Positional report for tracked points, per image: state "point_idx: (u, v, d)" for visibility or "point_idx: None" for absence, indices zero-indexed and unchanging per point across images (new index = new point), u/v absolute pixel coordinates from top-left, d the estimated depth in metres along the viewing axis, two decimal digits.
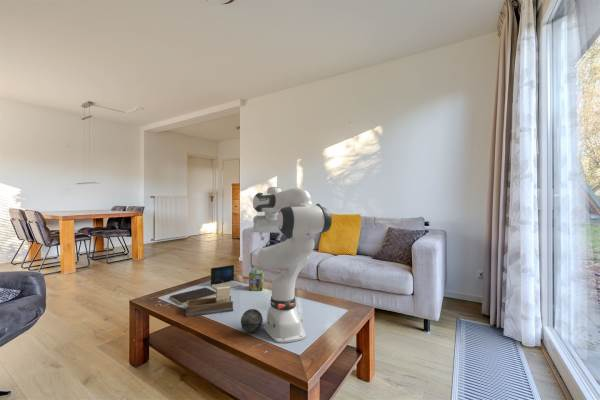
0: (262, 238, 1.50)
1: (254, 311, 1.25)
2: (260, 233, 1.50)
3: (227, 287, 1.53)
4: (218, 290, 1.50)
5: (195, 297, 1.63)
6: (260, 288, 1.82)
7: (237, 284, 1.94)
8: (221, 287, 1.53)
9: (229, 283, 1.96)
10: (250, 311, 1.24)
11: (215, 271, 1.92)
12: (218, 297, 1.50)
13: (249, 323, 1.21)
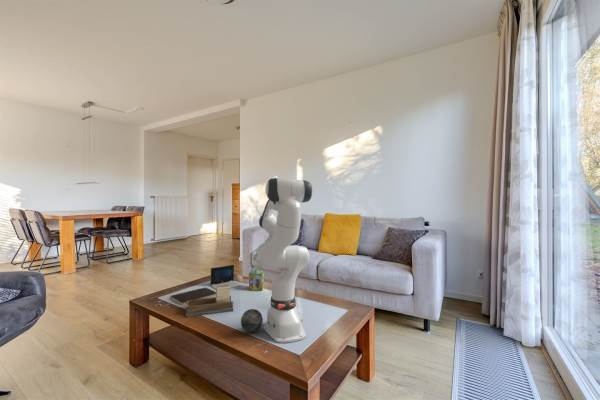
0: (253, 257, 1.65)
1: (254, 311, 1.25)
2: (256, 253, 1.67)
3: (227, 287, 1.53)
4: (218, 290, 1.50)
5: (195, 297, 1.63)
6: (260, 288, 1.82)
7: (237, 284, 1.94)
8: (221, 287, 1.53)
9: (229, 283, 1.96)
10: (250, 311, 1.24)
11: (215, 271, 1.92)
12: (218, 297, 1.50)
13: (249, 323, 1.21)
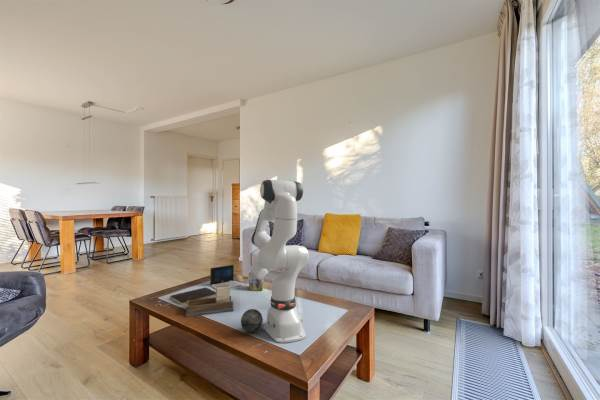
0: (248, 277, 1.60)
1: (254, 311, 1.25)
2: None
3: (227, 287, 1.53)
4: (218, 290, 1.50)
5: (195, 297, 1.63)
6: (260, 288, 1.82)
7: (237, 284, 1.94)
8: (221, 287, 1.53)
9: (229, 283, 1.96)
10: (250, 311, 1.24)
11: (215, 271, 1.93)
12: (218, 297, 1.50)
13: (249, 323, 1.21)
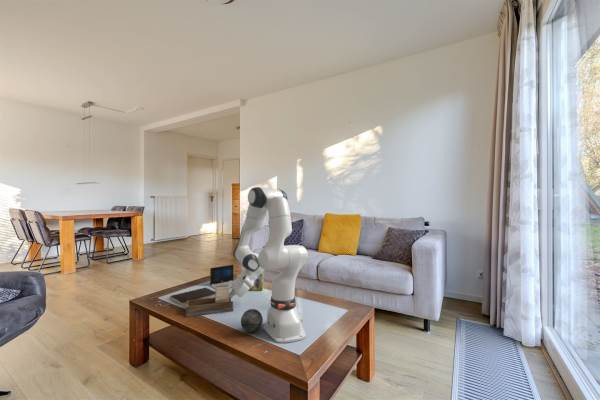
0: (229, 293, 1.56)
1: (254, 311, 1.25)
2: None
3: (226, 287, 1.53)
4: (217, 290, 1.49)
5: (195, 297, 1.63)
6: (260, 288, 1.82)
7: None
8: (220, 287, 1.53)
9: (228, 283, 1.96)
10: (250, 311, 1.24)
11: (215, 270, 1.93)
12: (217, 297, 1.49)
13: (249, 323, 1.21)
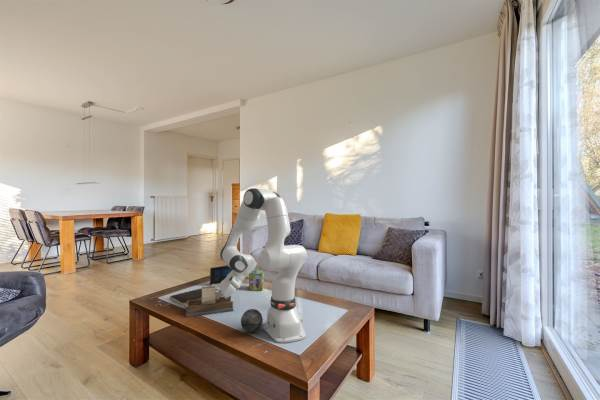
0: (216, 294, 1.53)
1: (254, 311, 1.25)
2: (219, 290, 1.55)
3: (213, 288, 1.50)
4: (203, 291, 1.47)
5: (195, 297, 1.63)
6: (260, 288, 1.82)
7: None
8: (207, 288, 1.50)
9: None
10: (250, 311, 1.24)
11: (215, 270, 1.93)
12: (203, 299, 1.47)
13: (249, 323, 1.21)
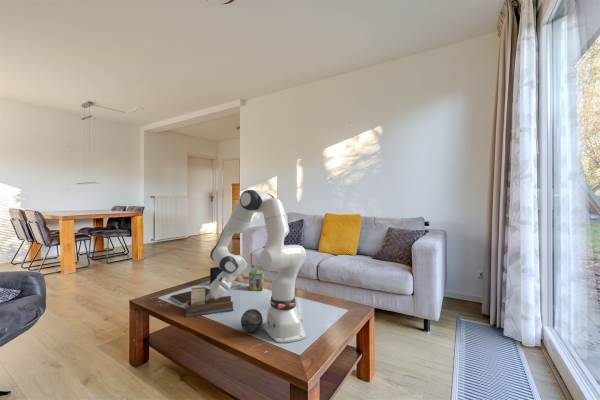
0: (206, 295, 1.51)
1: (254, 311, 1.25)
2: (209, 291, 1.53)
3: (202, 289, 1.48)
4: (192, 292, 1.45)
5: None
6: (260, 288, 1.82)
7: (236, 284, 1.95)
8: (196, 289, 1.48)
9: None
10: (250, 311, 1.24)
11: (215, 270, 1.93)
12: (192, 300, 1.45)
13: (249, 323, 1.21)
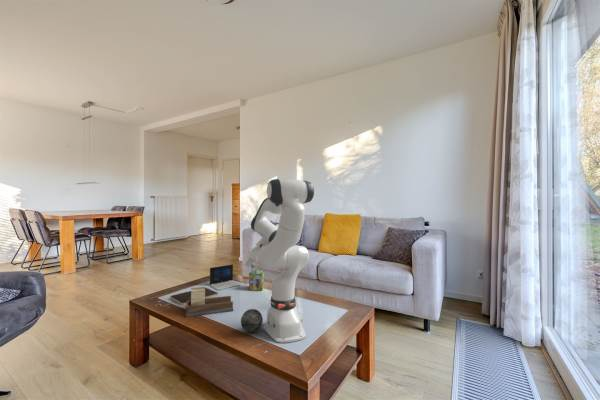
0: (246, 262, 1.56)
1: (254, 311, 1.25)
2: (249, 258, 1.58)
3: (202, 289, 1.48)
4: (192, 292, 1.45)
5: None
6: (260, 288, 1.82)
7: (236, 283, 1.95)
8: (196, 289, 1.48)
9: (228, 282, 1.97)
10: (250, 311, 1.24)
11: (214, 270, 1.93)
12: (192, 300, 1.45)
13: (249, 323, 1.21)
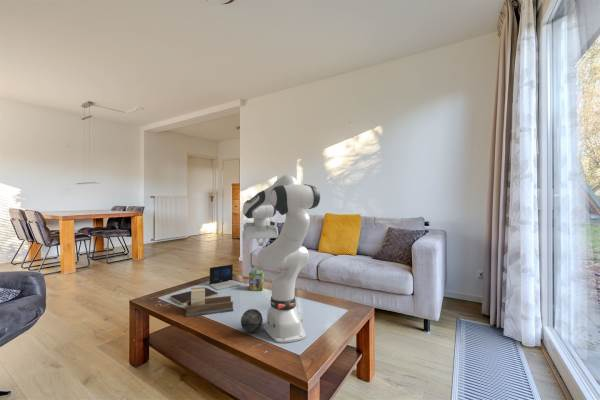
0: (259, 244, 1.58)
1: (254, 311, 1.25)
2: (257, 239, 1.58)
3: (202, 289, 1.48)
4: (192, 292, 1.45)
5: None
6: (260, 288, 1.82)
7: (236, 283, 1.95)
8: (196, 289, 1.48)
9: (228, 282, 1.97)
10: (250, 311, 1.24)
11: (214, 270, 1.94)
12: (192, 300, 1.45)
13: (249, 323, 1.21)
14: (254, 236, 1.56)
